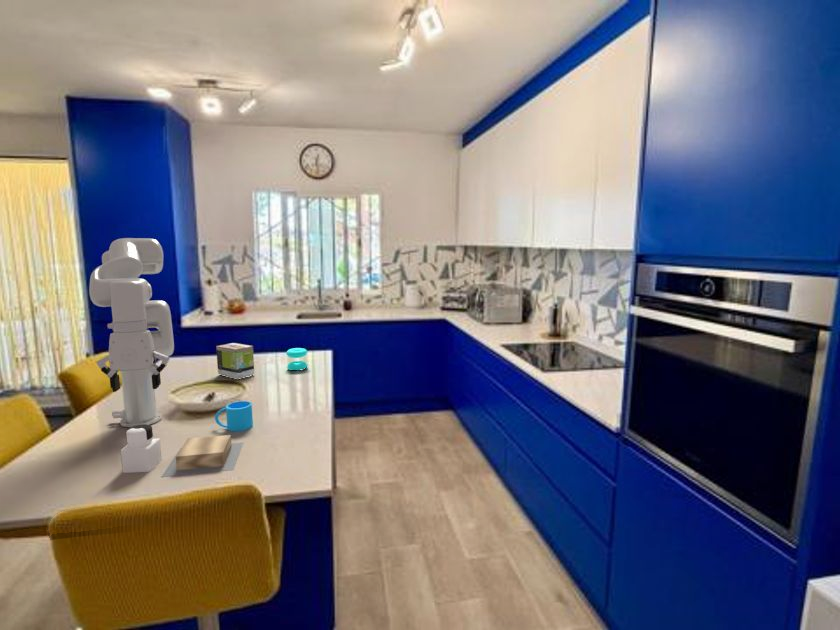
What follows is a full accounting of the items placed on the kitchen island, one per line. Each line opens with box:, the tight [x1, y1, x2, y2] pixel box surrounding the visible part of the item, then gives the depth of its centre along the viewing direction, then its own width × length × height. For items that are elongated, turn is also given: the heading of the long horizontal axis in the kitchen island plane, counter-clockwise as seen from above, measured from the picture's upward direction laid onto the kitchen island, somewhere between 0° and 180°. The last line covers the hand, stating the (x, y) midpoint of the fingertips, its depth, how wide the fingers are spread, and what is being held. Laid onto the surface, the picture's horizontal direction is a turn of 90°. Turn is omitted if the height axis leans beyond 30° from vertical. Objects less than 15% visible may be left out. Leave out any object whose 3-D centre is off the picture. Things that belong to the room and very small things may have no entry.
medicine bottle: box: [120, 424, 163, 474], centre depth 125 cm, size 7×7×12 cm
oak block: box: [175, 434, 232, 470], centre depth 130 cm, size 12×12×4 cm
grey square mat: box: [161, 442, 244, 478], centre depth 131 cm, size 18×18×1 cm
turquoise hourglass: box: [285, 347, 309, 371], centre depth 227 cm, size 10×10×10 cm
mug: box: [214, 400, 254, 432], centre depth 153 cm, size 12×8×8 cm
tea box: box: [215, 342, 255, 379], centre depth 215 cm, size 15×10×15 cm, turn 58°
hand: (136, 389), depth 123 cm, fingers open, 9 cm apart
